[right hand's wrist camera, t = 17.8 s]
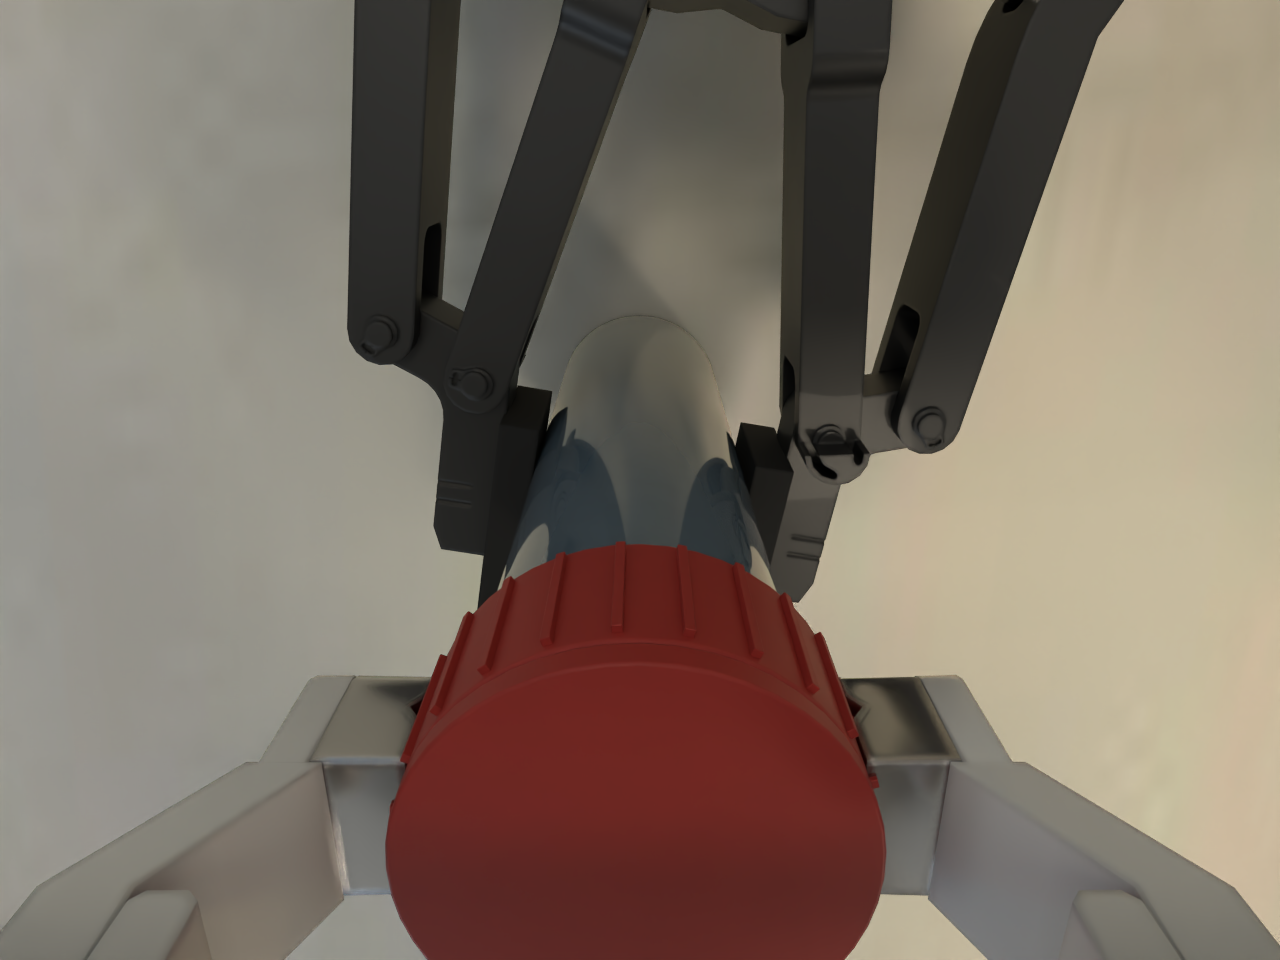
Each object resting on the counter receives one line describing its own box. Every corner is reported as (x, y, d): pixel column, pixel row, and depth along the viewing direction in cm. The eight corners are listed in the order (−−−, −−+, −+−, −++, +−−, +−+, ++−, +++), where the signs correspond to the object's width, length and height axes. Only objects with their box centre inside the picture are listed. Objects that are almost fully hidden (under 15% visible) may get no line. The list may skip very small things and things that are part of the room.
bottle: (652, 488, 25) (668, 1030, 10) (533, 403, 24) (355, 860, 9) (746, 377, 24) (925, 805, 9) (625, 282, 23) (594, 580, 8)
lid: (926, 661, 10) (1004, 807, 8) (697, 927, 12) (712, 1108, 10) (559, 456, 9) (533, 559, 7) (364, 774, 11) (294, 939, 9)
